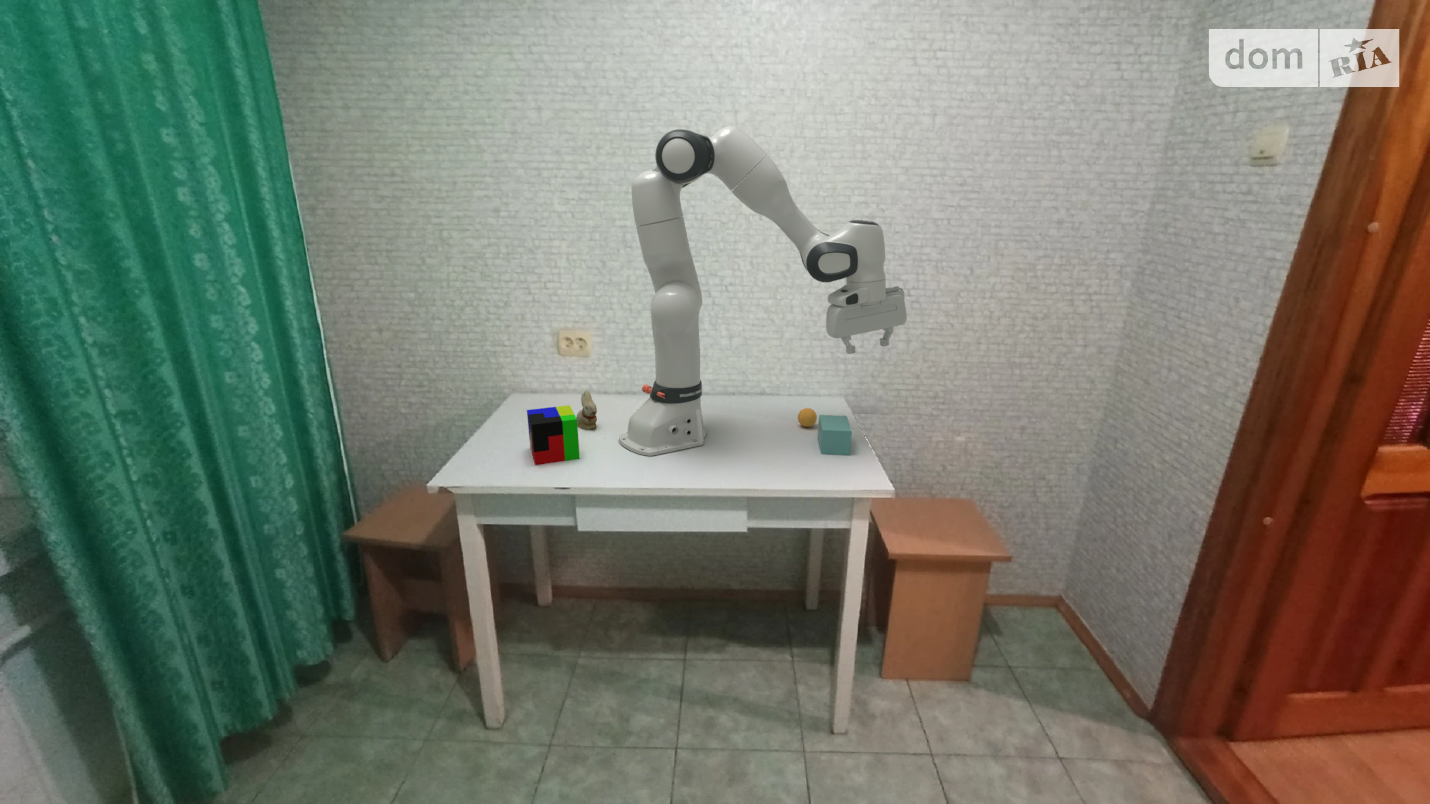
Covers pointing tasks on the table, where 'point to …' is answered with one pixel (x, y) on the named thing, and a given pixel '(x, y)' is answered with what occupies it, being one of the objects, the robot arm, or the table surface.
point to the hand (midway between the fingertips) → (867, 349)
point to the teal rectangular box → (834, 435)
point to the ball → (807, 417)
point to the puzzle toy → (553, 434)
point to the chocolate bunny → (587, 412)
